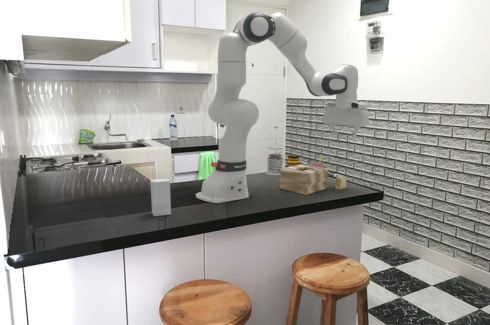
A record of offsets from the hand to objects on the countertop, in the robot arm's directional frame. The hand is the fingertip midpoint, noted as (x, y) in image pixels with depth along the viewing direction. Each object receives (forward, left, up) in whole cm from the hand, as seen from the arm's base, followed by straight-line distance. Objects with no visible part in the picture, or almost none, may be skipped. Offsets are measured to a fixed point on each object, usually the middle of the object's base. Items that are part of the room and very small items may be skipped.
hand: (343, 135), depth 162 cm
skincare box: (-79, +23, -24) cm, 86 cm away
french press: (+1, +39, -24) cm, 46 cm away
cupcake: (+11, +20, -24) cm, 33 cm away
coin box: (-13, +11, -24) cm, 29 cm away
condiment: (-2, +26, -24) cm, 35 cm away
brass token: (0, 0, -24) cm, 24 cm away
